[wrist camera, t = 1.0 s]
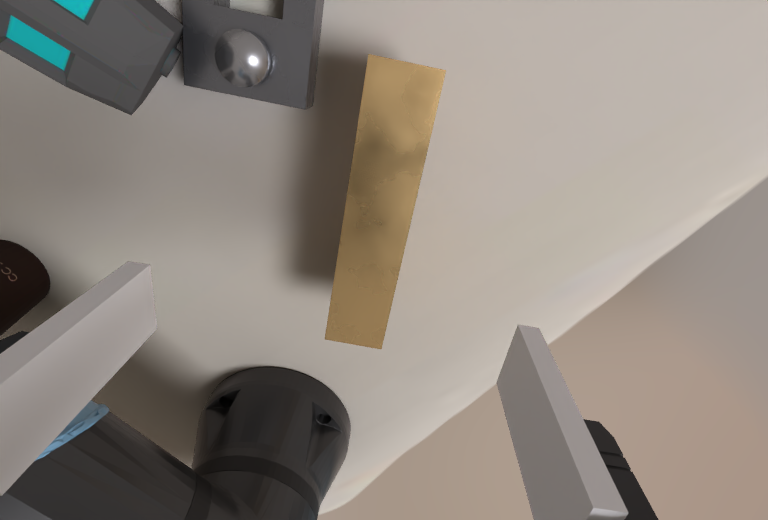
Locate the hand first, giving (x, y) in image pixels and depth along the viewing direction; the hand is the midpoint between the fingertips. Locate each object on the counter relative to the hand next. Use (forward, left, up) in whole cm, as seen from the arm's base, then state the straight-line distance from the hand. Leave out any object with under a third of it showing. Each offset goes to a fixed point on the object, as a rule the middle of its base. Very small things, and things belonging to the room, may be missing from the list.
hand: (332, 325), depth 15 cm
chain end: (+10, +9, -19) cm, 23 cm away
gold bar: (0, -1, -19) cm, 19 cm away
